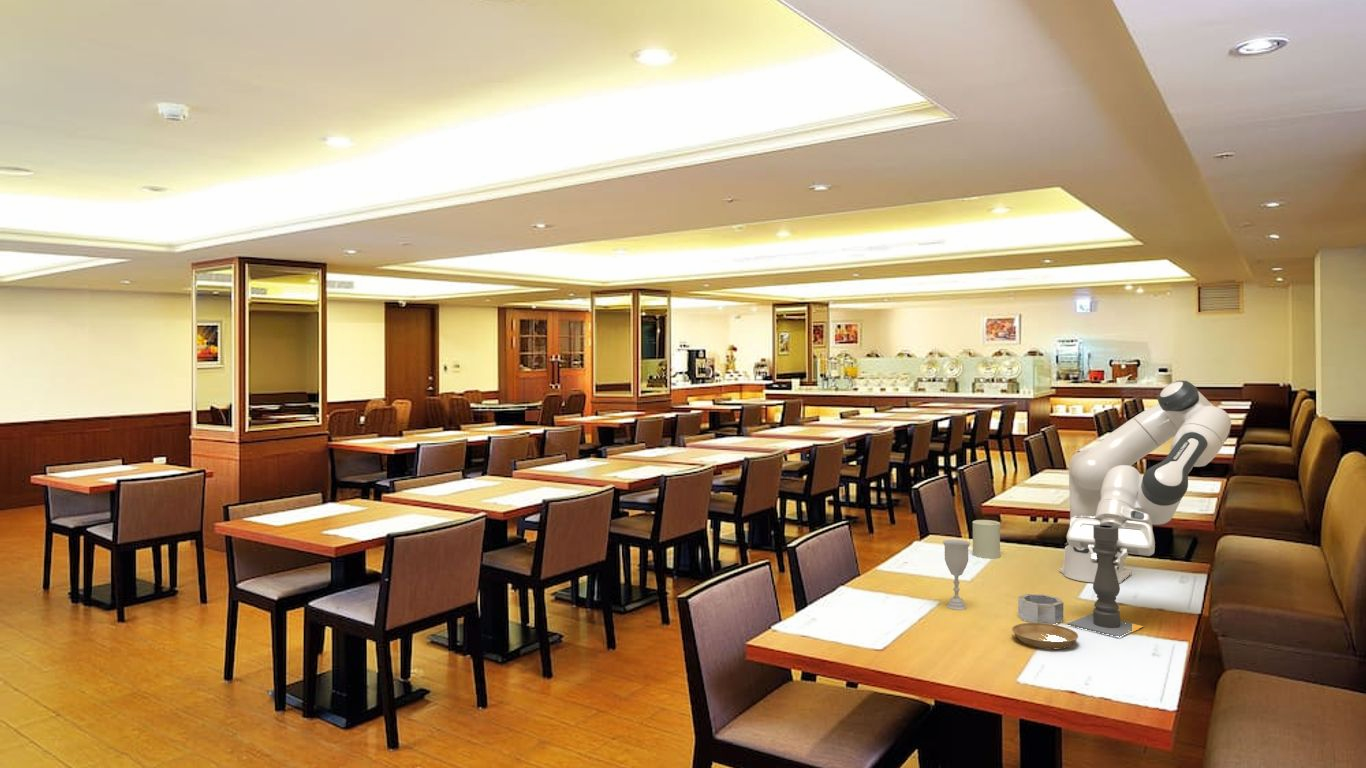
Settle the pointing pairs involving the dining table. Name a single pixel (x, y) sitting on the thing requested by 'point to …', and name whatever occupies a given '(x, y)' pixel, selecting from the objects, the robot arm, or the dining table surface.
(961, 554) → the chalice
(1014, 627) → the plant saucer
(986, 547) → the can
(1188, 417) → the robot arm
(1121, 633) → the slate mat
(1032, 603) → the steel collar
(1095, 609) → the candle holder
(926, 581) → the dining table surface
